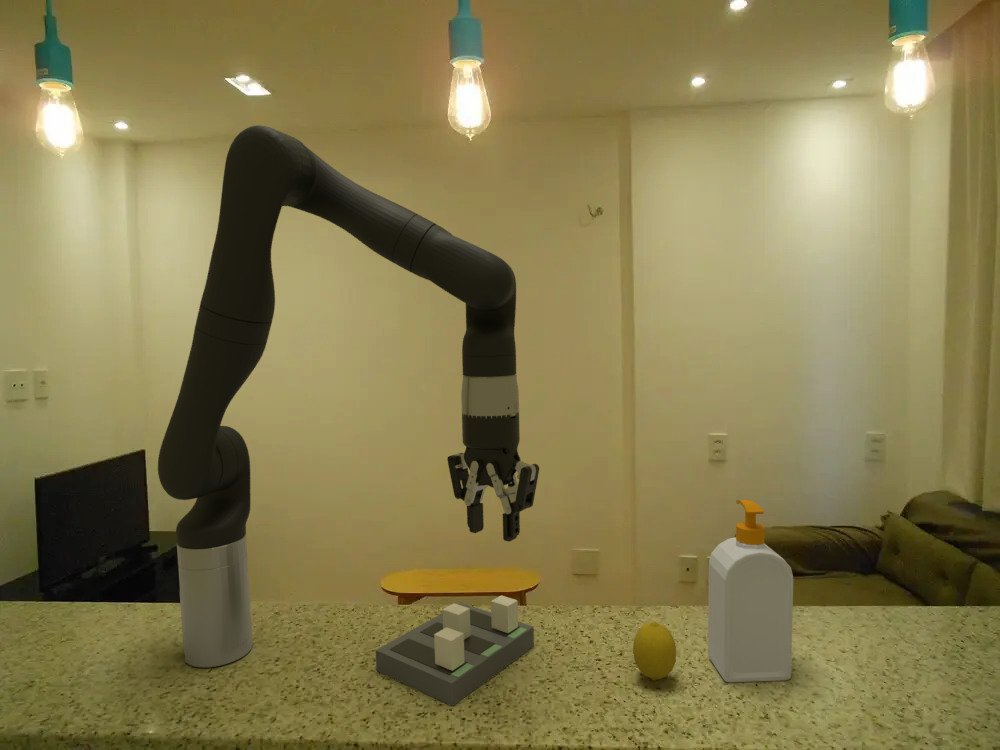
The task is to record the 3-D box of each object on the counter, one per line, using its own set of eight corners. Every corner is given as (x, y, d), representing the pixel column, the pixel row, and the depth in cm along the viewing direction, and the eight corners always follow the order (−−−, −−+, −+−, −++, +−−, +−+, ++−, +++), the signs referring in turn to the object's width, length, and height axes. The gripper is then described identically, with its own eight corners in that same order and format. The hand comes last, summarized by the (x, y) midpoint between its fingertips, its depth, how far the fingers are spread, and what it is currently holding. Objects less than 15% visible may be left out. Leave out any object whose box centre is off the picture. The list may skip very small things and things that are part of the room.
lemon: (677, 693, 83) (677, 633, 82) (633, 689, 84) (633, 630, 83) (674, 670, 88) (674, 613, 87) (633, 666, 89) (633, 611, 88)
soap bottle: (768, 653, 92) (771, 495, 90) (791, 680, 85) (795, 510, 83) (705, 655, 92) (707, 497, 90) (723, 683, 85) (725, 512, 83)
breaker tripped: (443, 636, 92) (442, 609, 92) (454, 629, 94) (453, 603, 94) (459, 642, 90) (458, 614, 90) (470, 635, 92) (469, 608, 92)
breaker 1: (435, 663, 85) (434, 634, 85) (447, 655, 87) (446, 627, 86) (452, 670, 83) (451, 641, 83) (464, 662, 85) (463, 633, 85)
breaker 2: (491, 627, 94) (491, 601, 94) (501, 621, 96) (501, 595, 96) (508, 633, 93) (507, 606, 92) (518, 626, 95) (517, 600, 94)
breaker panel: (376, 670, 90) (375, 649, 89) (461, 620, 104) (461, 602, 104) (452, 706, 81) (451, 682, 81) (533, 646, 95) (533, 626, 95)
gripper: (430, 409, 86) (434, 533, 88) (518, 417, 78) (520, 555, 79) (467, 402, 92) (470, 518, 94) (552, 409, 84) (554, 537, 85)
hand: (493, 534), depth 86 cm, fingers open, 5 cm apart
